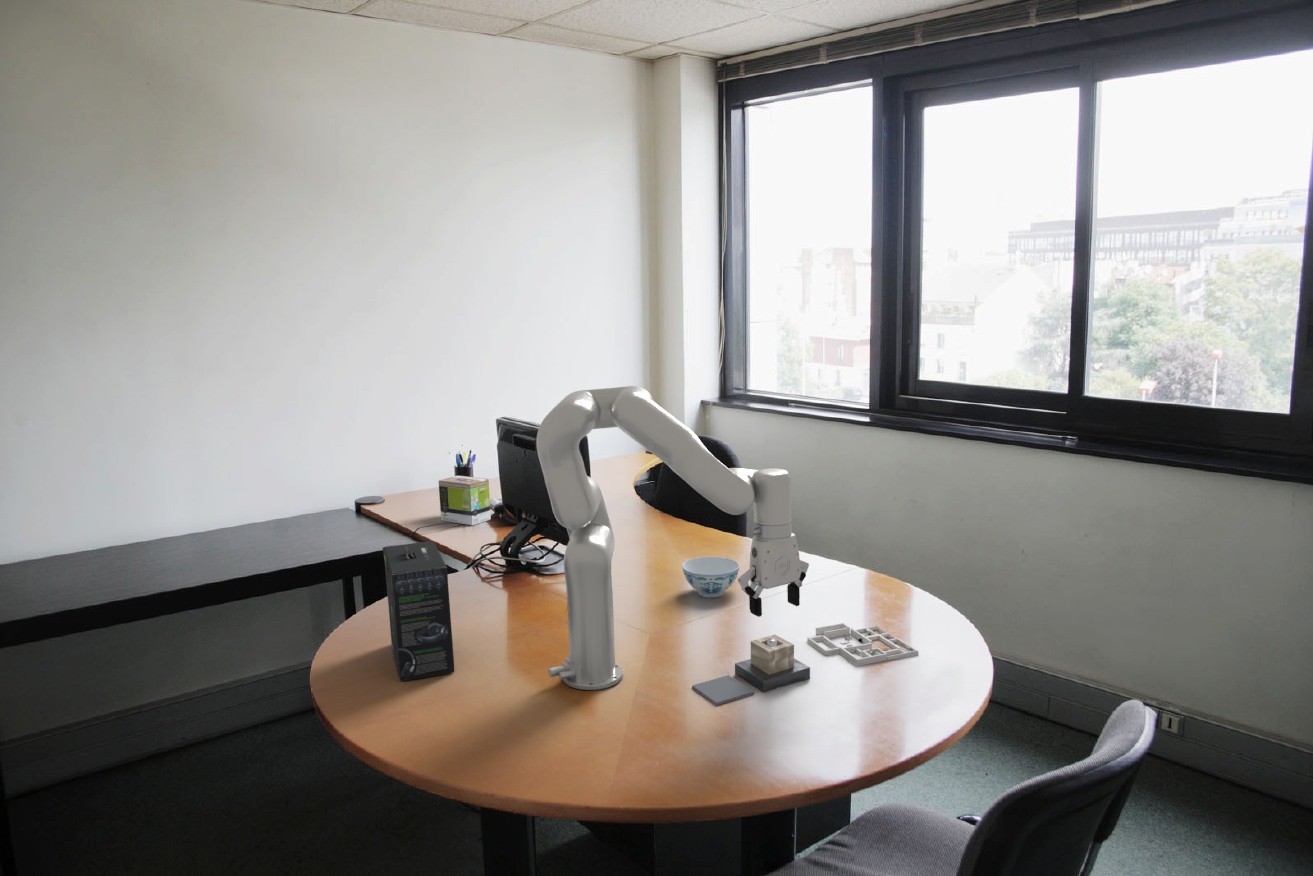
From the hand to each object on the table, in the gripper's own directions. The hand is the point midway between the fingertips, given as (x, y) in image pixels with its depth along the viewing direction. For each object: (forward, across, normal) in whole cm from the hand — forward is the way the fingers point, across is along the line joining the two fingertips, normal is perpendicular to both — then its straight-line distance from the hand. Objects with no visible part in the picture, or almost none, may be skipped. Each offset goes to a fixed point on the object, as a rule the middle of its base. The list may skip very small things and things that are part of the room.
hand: (775, 609), depth 189 cm
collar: (+12, -1, 0) cm, 12 cm away
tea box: (+13, -15, +158) cm, 159 cm away
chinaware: (+15, +16, +50) cm, 54 cm away
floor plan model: (+16, +22, +3) cm, 28 cm away
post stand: (+15, -1, 0) cm, 15 cm away
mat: (+15, -13, 0) cm, 20 cm away
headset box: (+13, -61, +50) cm, 80 cm away
